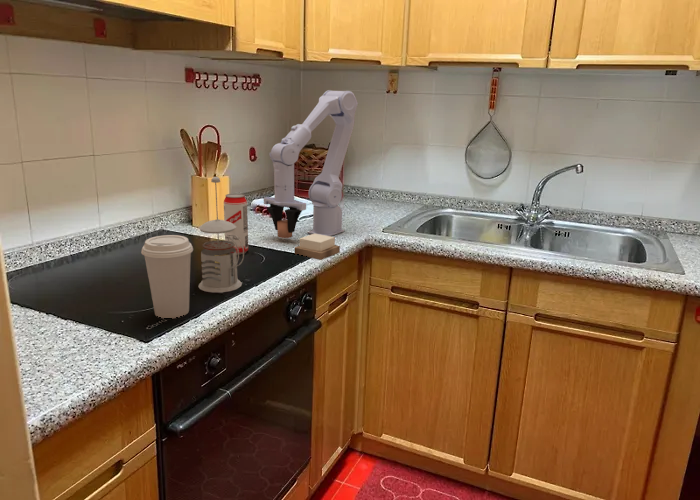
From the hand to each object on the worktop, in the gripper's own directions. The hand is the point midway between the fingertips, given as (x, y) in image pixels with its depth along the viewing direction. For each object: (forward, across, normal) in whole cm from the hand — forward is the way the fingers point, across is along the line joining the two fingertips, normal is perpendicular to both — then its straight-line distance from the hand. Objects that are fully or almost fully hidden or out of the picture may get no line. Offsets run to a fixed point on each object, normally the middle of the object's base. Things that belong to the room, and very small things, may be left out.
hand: (284, 230), depth 160 cm
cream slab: (+1, +15, -4) cm, 16 cm away
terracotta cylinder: (+2, 0, 0) cm, 2 cm away
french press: (+3, +13, -38) cm, 40 cm away
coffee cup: (+3, +16, -55) cm, 57 cm away
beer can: (+3, -3, -17) cm, 18 cm away
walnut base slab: (+4, +15, -4) cm, 16 cm away
